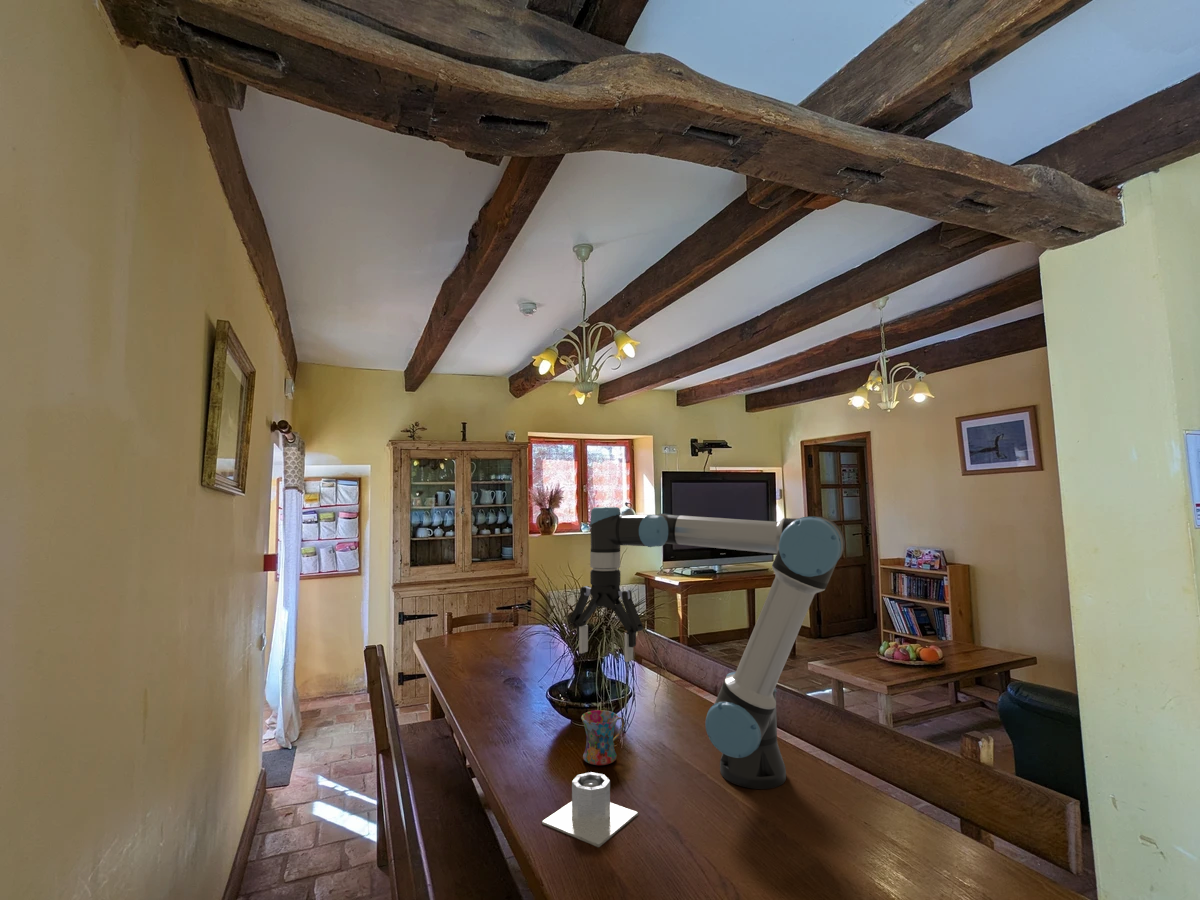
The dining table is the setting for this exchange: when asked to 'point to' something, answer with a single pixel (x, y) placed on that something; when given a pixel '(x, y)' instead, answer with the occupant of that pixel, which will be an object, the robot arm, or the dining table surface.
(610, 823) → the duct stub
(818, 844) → the dining table surface
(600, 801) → the grey hollow octagonal block
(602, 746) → the mug
